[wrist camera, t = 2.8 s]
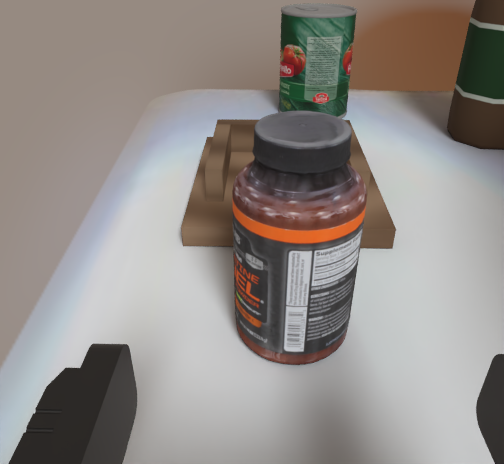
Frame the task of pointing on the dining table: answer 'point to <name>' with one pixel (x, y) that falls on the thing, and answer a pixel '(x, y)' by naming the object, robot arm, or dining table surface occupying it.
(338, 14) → the canned tomato
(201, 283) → the dining table surface
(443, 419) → the dining table surface
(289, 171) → the supplement bottle
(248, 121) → the walnut dock
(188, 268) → the dining table surface
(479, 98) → the beer bottle
